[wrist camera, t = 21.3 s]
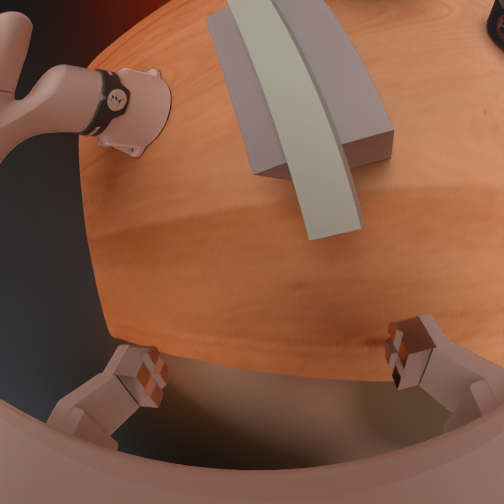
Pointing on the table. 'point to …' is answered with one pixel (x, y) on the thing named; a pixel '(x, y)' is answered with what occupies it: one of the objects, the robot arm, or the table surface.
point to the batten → (300, 120)
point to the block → (327, 75)
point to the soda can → (497, 22)
